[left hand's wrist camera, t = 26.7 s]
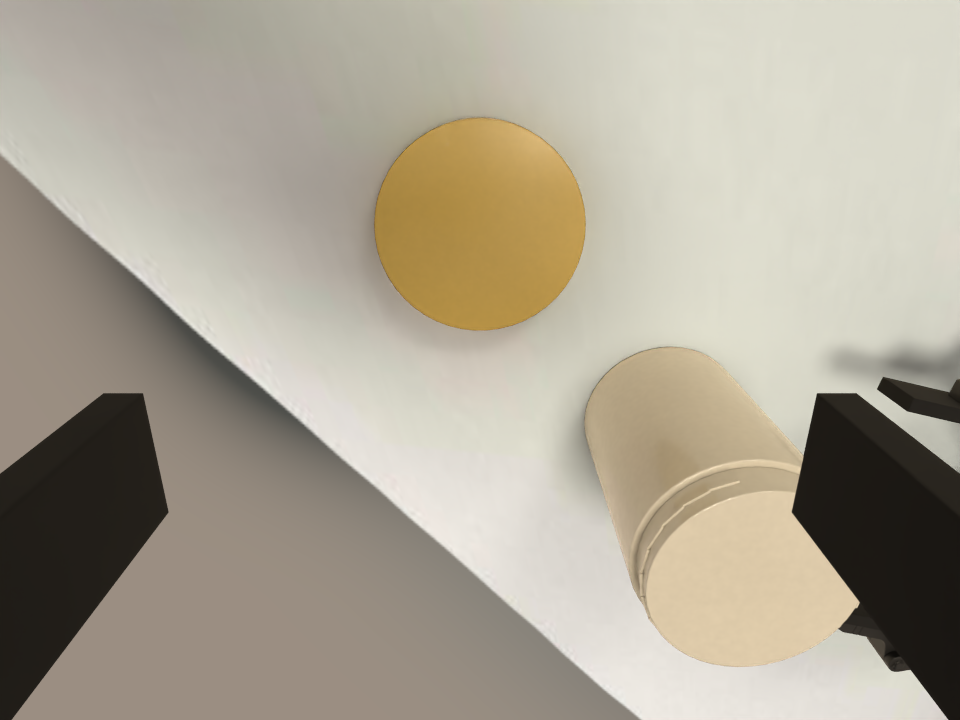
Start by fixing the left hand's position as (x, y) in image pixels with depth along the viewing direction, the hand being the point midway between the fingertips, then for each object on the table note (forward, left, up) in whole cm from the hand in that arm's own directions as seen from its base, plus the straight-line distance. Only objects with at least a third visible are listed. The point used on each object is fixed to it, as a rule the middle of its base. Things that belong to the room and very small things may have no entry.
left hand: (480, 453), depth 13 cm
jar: (+17, 0, -26) cm, 31 cm away
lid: (0, 0, -24) cm, 24 cm away
